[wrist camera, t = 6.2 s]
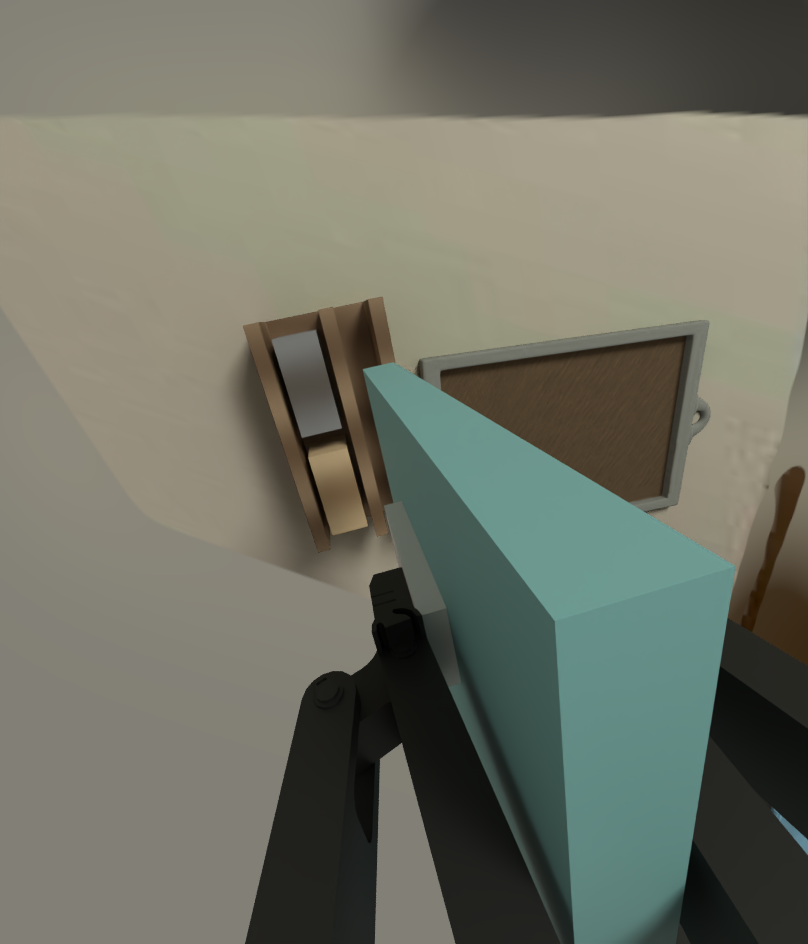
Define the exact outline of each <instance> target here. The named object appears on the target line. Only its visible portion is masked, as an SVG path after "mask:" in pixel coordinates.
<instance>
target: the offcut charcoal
mask: <svg viewBox="0 0 808 944" xmlns="http://www.w3.org/2000/svg"><path fill="white" fill-rule="evenodd" d="M272 343H273V346H274V350H275V353H276V356H277V359H278V362H279V366H280V369H281V372H282V375H283V378H284V382H285V385H286V388H287V391H288V394H289V398H290V401H291V404H292V407H293V411H294V414H295V417H296V420H297V423H298V427H299V430H300V433H301V436H302V438H303V437H308V436H312V435H316V434H320V433H324V432H328V431H333V430H337V429H341V428H342V426H341V419H340V414H339V411H338V407H337V403H336V399H335V395H334V392H333V388H332V384H331V380H330V377H329V373H328V369H327V365H326V361H325V358H324V354H323V350H322V346H321V343H320V339H319V335H318V331H317V329H314V330H310V331H305V332H300V333H296V334H291V335H286V336H282V337H277V338H275V339H272Z"/></svg>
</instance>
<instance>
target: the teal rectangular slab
mask: <svg viewBox="0 0 808 944" xmlns="http://www.w3.org/2000/svg"><path fill="white" fill-rule="evenodd" d="M363 373H364V378H365V382H366V386H367V391H368V395H369V399H370V404H371V408H372V412H373V417H374V421H375V425H376V430H377V434H378V438H379V443H380V447H381V451H382V456H383V460H384V464H385V469H386V473H387V477H388V482H389V486H390V490H391V495H392V499H393V503H396V502H400V501H402V503H403V506H404V508H405V510H406V513H407V515H408V518H409V520H410V522H411V525H412V527H413V530H414V532H415V534H416V537H417V539H418V541H419V544H420V546H421V549H422V551H423V553H424V556H425V558H426V561H427V563H428V565H429V568H430V570H431V572H432V575H433V577H434V580H435V582H436V584H437V587H438V589H439V592H440V594H441V596H442V599H443V601H444V603H445V606H446V608H447V613H448V619H449V624H450V629H451V634H452V639H453V644H454V649H455V654H456V660H457V665H458V670H459V675H460V680H461V683H459V684H456V685H453V686H450V687H449V690H450V692H451V694H452V696H453V699H454V701H455V703H456V705H457V708H458V710H459V712H460V715H461V717H462V719H463V721H464V724H465V726H466V728H467V731H468V733H469V735H470V737H471V740H472V742H473V744H474V747H475V749H476V751H477V753H478V756H479V758H480V760H481V763H482V765H483V767H484V769H485V772H486V774H487V776H488V779H489V781H490V783H491V785H492V788H493V790H494V792H495V795H496V797H497V799H498V801H499V804H500V806H501V808H502V810H503V813H504V815H505V817H506V820H507V822H508V824H509V826H510V829H511V831H512V833H513V836H514V838H515V840H516V842H517V845H518V847H519V849H520V852H521V854H522V856H523V858H524V861H525V863H526V865H527V868H528V870H529V872H530V874H531V877H532V879H533V881H534V884H535V886H536V888H537V890H538V893H539V895H540V897H541V900H542V902H543V904H544V906H545V909H546V911H547V913H548V916H549V918H550V920H551V922H552V925H553V927H554V929H555V931H556V934H557V936H558V938H559V941H560V943H561V944H676V940H677V934H678V928H679V921H680V915H681V909H682V902H683V896H684V890H685V883H686V877H687V871H688V864H689V858H690V852H691V845H692V839H693V833H694V826H695V820H696V814H697V807H698V801H699V795H700V788H701V782H702V776H703V769H704V763H705V757H706V750H707V744H708V738H709V731H710V725H711V718H712V712H713V706H714V699H715V693H716V687H717V680H718V674H719V668H720V661H721V655H722V649H723V642H724V636H725V630H726V623H727V617H728V611H729V604H730V598H731V592H732V585H733V579H734V573H735V566H734V565H733V564H731V563H729V562H728V561H726V560H724V559H722V558H721V557H719V556H717V555H716V554H714V553H712V552H711V551H709V550H707V549H706V548H704V547H702V546H701V545H699V544H697V543H696V542H694V541H692V540H691V539H689V538H687V537H686V536H684V535H682V534H681V533H679V532H677V531H676V530H674V529H672V528H671V527H669V526H667V525H666V524H664V523H662V522H661V521H659V520H657V519H655V518H654V517H652V516H650V515H649V514H647V513H645V512H644V511H642V510H640V509H639V508H637V507H635V506H634V505H632V504H630V503H629V502H627V501H625V500H624V499H622V498H620V497H619V496H617V495H615V494H614V493H612V492H610V491H609V490H607V489H605V488H604V487H602V486H600V485H599V484H597V483H595V482H593V481H592V480H590V479H588V478H587V477H585V476H583V475H582V474H580V473H578V472H577V471H575V470H573V469H572V468H570V467H568V466H567V465H565V464H563V463H562V462H560V461H558V460H557V459H555V458H553V457H552V456H550V455H548V454H547V453H545V452H543V451H542V450H540V449H538V448H537V447H535V446H533V445H531V444H530V443H528V442H526V441H525V440H523V439H521V438H520V437H518V436H516V435H515V434H513V433H511V432H510V431H508V430H506V429H505V428H503V427H501V426H500V425H498V424H496V423H495V422H493V421H491V420H490V419H488V418H486V417H485V416H483V415H481V414H480V413H478V412H476V411H475V410H473V409H471V408H469V407H468V406H466V405H464V404H463V403H461V402H459V401H458V400H456V399H454V398H453V397H451V396H449V395H448V394H446V393H444V392H443V391H441V390H439V389H438V388H436V387H434V386H433V385H431V384H429V383H428V382H426V381H424V380H423V379H421V378H419V377H418V376H416V375H414V374H413V373H411V372H409V371H407V370H406V369H404V368H402V367H401V366H399V365H397V364H396V363H394V362H392V363H388V364H383V365H379V366H375V367H370V368H366V369H363Z"/></svg>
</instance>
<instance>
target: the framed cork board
mask: <svg viewBox="0 0 808 944" xmlns="http://www.w3.org/2000/svg"><path fill="white" fill-rule="evenodd" d="M708 329H709V321H705V320H700V321H690V322H683V323H676V324H668V325H661V326H654V327H647V328H639V329H632V330H625V331H618V332H610V333H603V334H596V335H588V336H581V337H574V338H567V339H559V340H552V341H545V342H538V343H530V344H523V345H516V346H509V347H501V348H494V349H487V350H480V351H472V352H465V353H458V354H451V355H443V356H436V357H429V358H423V359H420V360H419V371H420V378H421V379H423V380H424V381H426V382H428V383H429V384H431V385H433V386H434V387H436V388H438V389H439V390H441V391H443V392H444V393H446V394H448V395H449V396H451V397H453V398H454V399H456V400H458V401H459V402H461V403H463V404H464V405H466V406H468V407H469V408H471V409H473V410H475V411H476V412H478V413H480V414H481V415H483V416H485V417H486V418H488V419H490V420H491V421H493V422H495V423H496V424H498V425H500V426H501V427H503V428H505V429H506V430H508V431H510V432H511V433H513V434H515V435H516V436H518V437H520V438H521V439H523V440H525V441H526V442H528V443H530V444H531V445H533V446H535V447H537V448H538V449H540V450H542V451H543V452H545V453H547V454H548V455H550V456H552V457H553V458H555V459H557V460H558V461H560V462H562V463H563V464H565V465H567V466H568V467H570V468H572V469H573V470H575V471H577V472H578V473H580V474H582V475H583V476H585V477H587V478H588V479H590V480H592V481H593V482H595V483H597V484H599V485H600V486H602V487H604V488H605V489H607V490H609V491H610V492H612V493H614V494H615V495H617V496H619V497H620V498H622V499H624V500H625V501H627V502H629V503H630V504H632V505H634V506H635V507H637V508H639V509H640V510H642V511H644V512H645V511H650V510H654V509H659V508H664V507H669V506H674V505H677V504H678V500H679V495H680V489H681V483H682V478H683V472H684V466H685V460H686V455H687V449H688V445H689V444H690V442H691V440H692V437H693V436H695V435H696V434H697V433H699V432H700V431H701V430H702V429H703V428H704V427H705V426H706V424H707V423H708V421H709V418H710V408H709V406H708V404H707V403H706V402H705V401H704V400H703V399H701V398H698V395H697V392H698V386H699V380H700V375H701V369H702V363H703V357H704V352H705V346H706V340H707V335H708ZM696 411H700V412H701V416H700V419H699V420H698V422H696V423H694V424H692V420H693V416H694V415H695V413H696Z"/></svg>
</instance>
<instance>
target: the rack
mask: <svg viewBox="0 0 808 944" xmlns="http://www.w3.org/2000/svg"><path fill="white" fill-rule="evenodd" d="M243 328H244V331H245V334H246V337H247V340H248V343H249V346H250V349H251V352H252V355H253V358H254V361H255V364H256V367H257V370H258V373H259V376H260V379H261V382H262V385H263V388H264V391H265V394H266V397H267V400H268V403H269V406H270V409H271V412H272V415H273V418H274V421H275V424H276V427H277V430H278V433H279V436H280V439H281V442H282V445H283V448H284V451H285V454H286V457H287V460H288V463H289V466H290V469H291V472H292V475H293V478H294V481H295V484H296V487H297V490H298V493H299V496H300V499H301V502H302V505H303V508H304V511H305V514H306V517H307V520H308V523H309V526H310V529H311V532H312V535H313V538H314V541H315V544H316V547H317V550H318V553H319V552H323V551H326V550H330V526H329V523H328V520H327V517H326V513H325V510H324V507H323V504H322V501H321V497H320V494H319V491H318V488H317V484H316V481H315V478H314V475H313V472H312V468H311V465H310V462H309V459H308V455H309V447H310V442H314V441H318V440H322V439H326V438H331V437H335V436H339V435H343V434H345V437H346V441H347V444H348V448H349V452H350V456H351V460H352V463H353V467H354V471H355V475H356V478H357V482H358V486H359V490H360V493H361V497H362V501H363V505H364V509H365V514H366V517H367V516H370V515H371V516H372V519H373V523H374V527H375V531H376V535H377V537H378V536H382V535H386V534H388V530H387V526H386V521H385V517H384V513H383V512H385V508H384V505H388V504H392V503H393V499H392V495H391V490H390V486H389V482H388V477H387V473H386V469H385V464H384V460H383V456H382V451H381V447H380V443H379V438H378V434H377V430H376V425H375V421H374V417H373V412H372V408H371V404H370V399H369V395H368V391H367V386H366V382H365V378H364V373H363V369H366V368H370V367H375V366H379V365H383V364H388V363H392V362H394V363H395V358H394V353H393V348H392V343H391V338H390V333H389V328H388V323H387V318H386V312H385V307H384V302H383V297H378V298H373V299H368V300H366V301H364V302H360V303H355V304H350V305H346V306H341V307H336V308H333V307H330V308H325V309H320V310H318V311H317V312H312V313H307V314H303V315H298V316H293V317H288V318H283V319H279V320H274V321H269V322H258V323H253V324H249V325H244V326H243ZM314 329H317V331H318V335H319V339H320V343H321V346H322V350H323V354H324V358H325V361H326V365H327V369H328V373H329V377H330V380H331V384H332V388H333V392H334V395H335V399H336V403H337V407H338V411H339V414H340V419H341V426H342V428H341V429H337V430H333V431H328V432H324V433H320V434H316V435H312V436H308V437H303V438H302V436H301V433H300V430H299V427H298V423H297V420H296V417H295V414H294V411H293V407H292V404H291V401H290V398H289V394H288V391H287V388H286V385H285V382H284V378H283V375H282V372H281V369H280V366H279V362H278V359H277V356H276V353H275V350H274V346H273V343H272V339H275V338H277V337H282V336H286V335H291V334H296V333H300V332H305V331H310V330H314Z"/></svg>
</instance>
